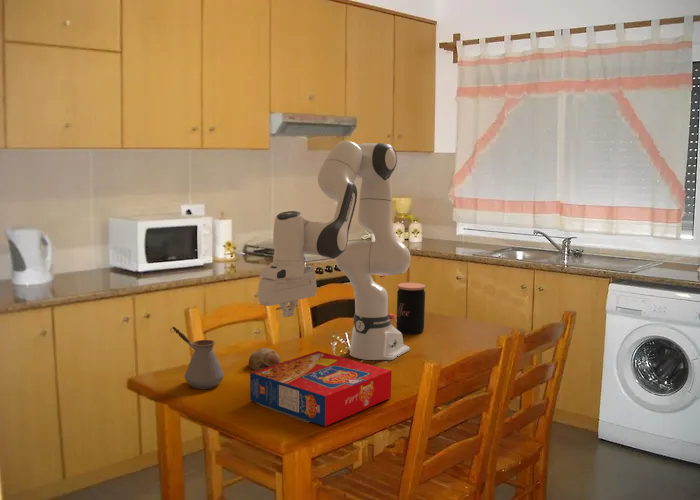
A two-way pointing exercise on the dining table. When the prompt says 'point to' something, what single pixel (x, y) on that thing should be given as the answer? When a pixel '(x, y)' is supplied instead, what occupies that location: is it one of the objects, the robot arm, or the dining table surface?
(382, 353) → the robot arm
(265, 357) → the bread roll
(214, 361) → the coffee pot
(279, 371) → the cereal box
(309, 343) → the dining table surface
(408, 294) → the coffee jar
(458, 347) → the dining table surface
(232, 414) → the dining table surface
